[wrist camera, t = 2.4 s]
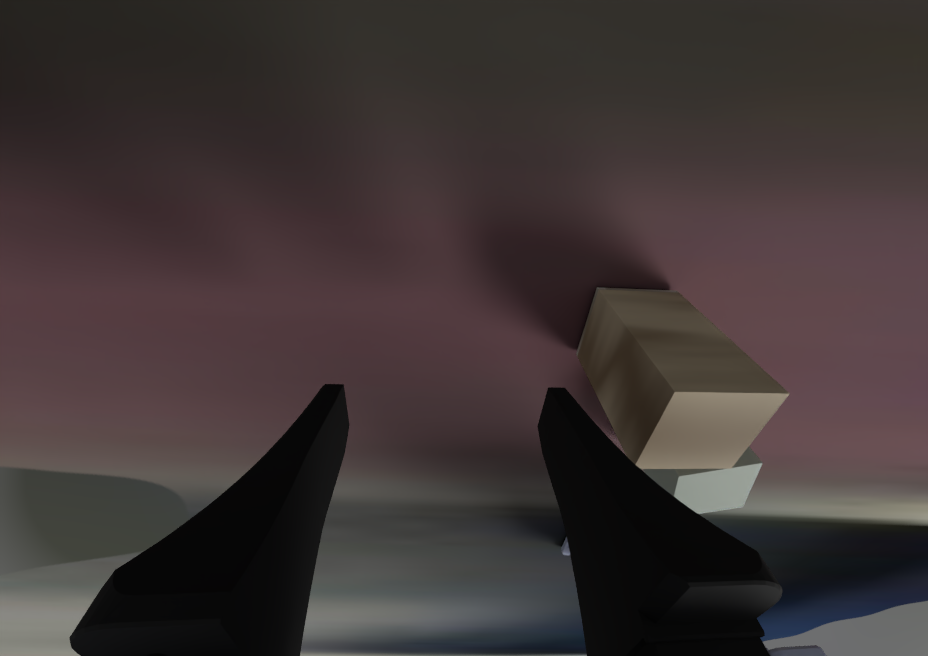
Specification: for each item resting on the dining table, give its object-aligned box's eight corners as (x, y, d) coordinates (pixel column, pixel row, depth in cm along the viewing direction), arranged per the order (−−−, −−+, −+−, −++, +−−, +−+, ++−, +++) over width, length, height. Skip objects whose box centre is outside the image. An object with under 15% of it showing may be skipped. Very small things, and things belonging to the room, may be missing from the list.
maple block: (647, 355, 20) (731, 468, 14) (576, 354, 20) (633, 469, 14) (676, 290, 18) (789, 393, 12) (596, 287, 18) (674, 391, 12)
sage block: (691, 433, 24) (742, 507, 20) (629, 443, 25) (668, 518, 21) (702, 390, 22) (762, 463, 18) (634, 401, 22) (678, 476, 18)
